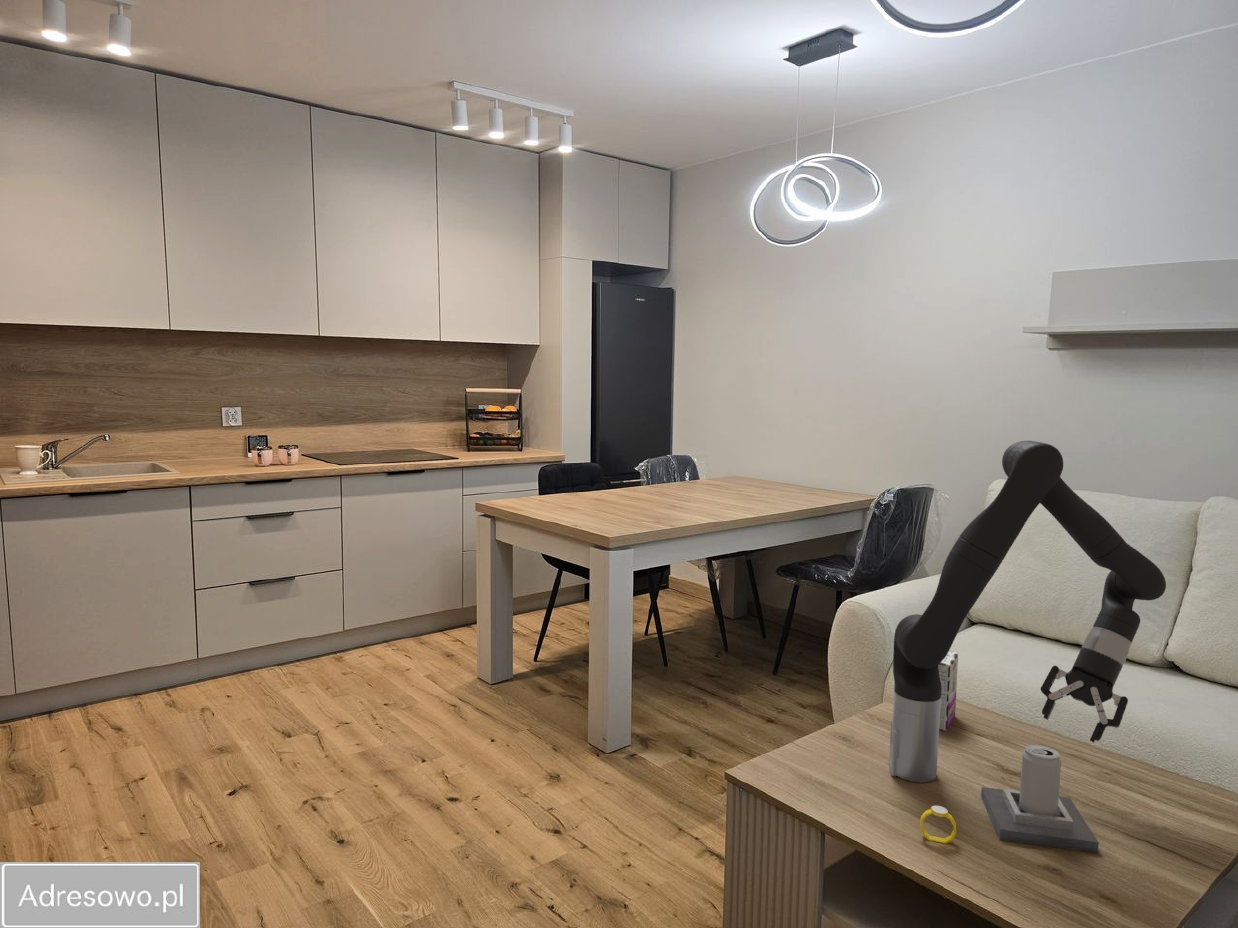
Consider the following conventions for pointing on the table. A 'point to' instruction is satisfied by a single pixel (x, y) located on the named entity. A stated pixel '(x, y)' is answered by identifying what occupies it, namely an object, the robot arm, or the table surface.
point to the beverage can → (1040, 780)
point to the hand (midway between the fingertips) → (1068, 729)
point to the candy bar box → (948, 689)
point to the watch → (941, 813)
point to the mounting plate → (1038, 822)
